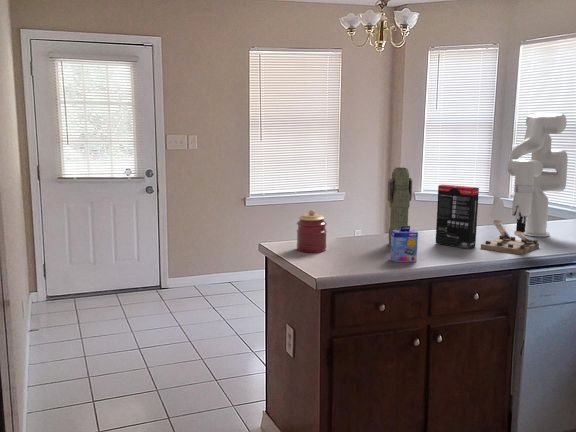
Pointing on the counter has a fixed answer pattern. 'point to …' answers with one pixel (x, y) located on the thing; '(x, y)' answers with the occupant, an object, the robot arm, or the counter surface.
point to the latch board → (510, 245)
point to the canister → (311, 233)
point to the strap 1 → (502, 229)
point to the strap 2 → (522, 236)
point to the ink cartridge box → (404, 245)
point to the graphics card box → (457, 216)
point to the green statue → (399, 199)
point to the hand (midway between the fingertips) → (520, 231)
